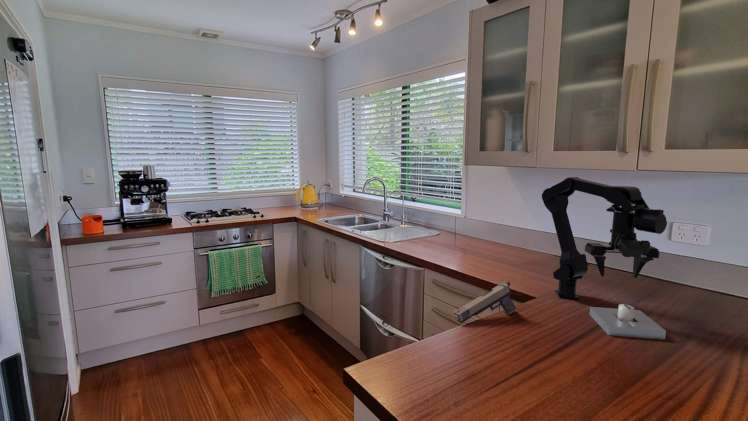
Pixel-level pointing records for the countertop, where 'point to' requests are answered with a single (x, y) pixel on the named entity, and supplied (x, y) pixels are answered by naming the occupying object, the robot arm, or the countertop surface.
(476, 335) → the countertop surface
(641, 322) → the plate
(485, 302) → the toy gun
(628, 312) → the knob
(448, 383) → the countertop surface
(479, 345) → the countertop surface
